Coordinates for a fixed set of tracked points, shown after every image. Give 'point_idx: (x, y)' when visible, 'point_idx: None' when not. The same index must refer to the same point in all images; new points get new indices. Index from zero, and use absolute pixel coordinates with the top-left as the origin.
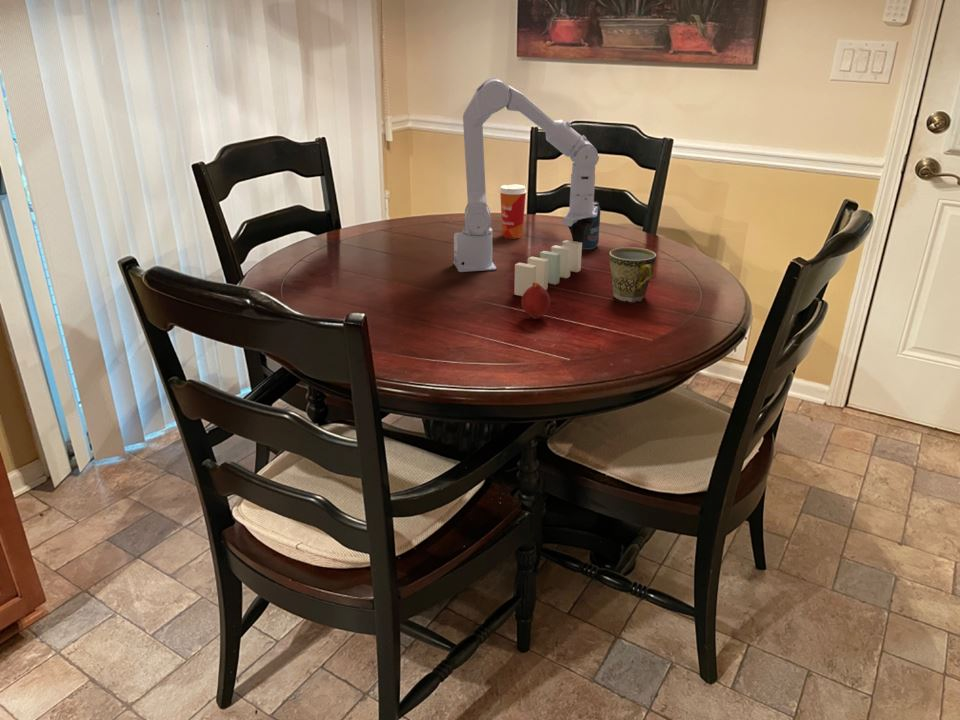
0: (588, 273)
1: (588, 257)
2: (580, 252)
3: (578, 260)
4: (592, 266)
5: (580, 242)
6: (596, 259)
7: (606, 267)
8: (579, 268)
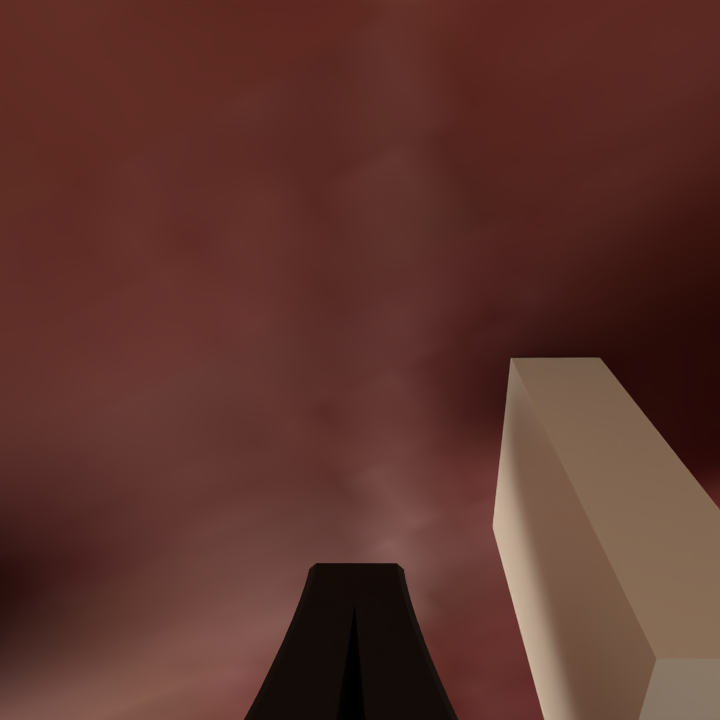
0: (585, 225)
1: (21, 487)
2: (626, 508)
3: (638, 435)
4: (287, 311)
5: (656, 684)
6: (13, 391)
7: (208, 137)
8: (552, 372)
